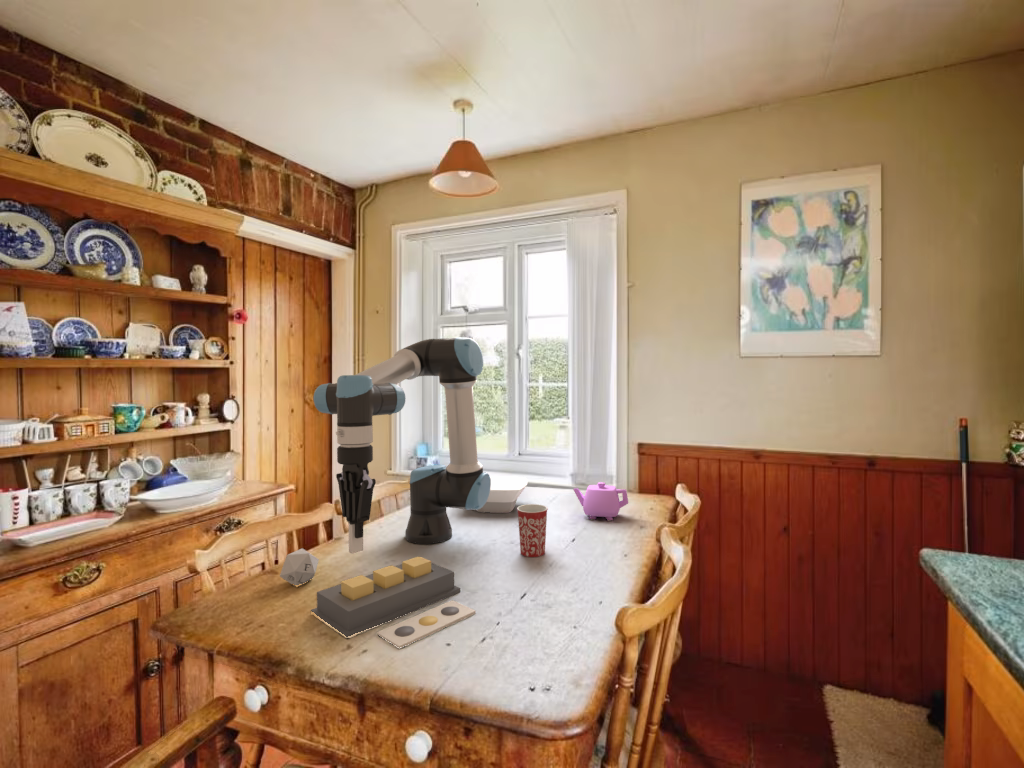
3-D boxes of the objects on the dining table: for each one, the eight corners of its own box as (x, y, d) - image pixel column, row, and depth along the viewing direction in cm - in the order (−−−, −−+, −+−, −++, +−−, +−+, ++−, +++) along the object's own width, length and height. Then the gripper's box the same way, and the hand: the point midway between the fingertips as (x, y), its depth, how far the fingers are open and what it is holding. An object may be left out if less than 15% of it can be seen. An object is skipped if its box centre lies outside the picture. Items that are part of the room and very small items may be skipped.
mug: (539, 560, 145) (539, 513, 144) (512, 555, 149) (511, 509, 149) (558, 547, 155) (557, 503, 155) (531, 542, 160) (531, 500, 160)
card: (376, 635, 104) (376, 631, 104) (452, 602, 118) (452, 599, 118) (399, 649, 98) (399, 645, 98) (475, 613, 113) (475, 610, 113)
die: (275, 594, 126) (293, 564, 124) (273, 566, 133) (291, 538, 130) (308, 596, 131) (326, 569, 129) (304, 569, 138) (322, 543, 136)
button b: (373, 588, 119) (373, 571, 118) (391, 581, 122) (391, 565, 122) (385, 594, 115) (385, 576, 115) (403, 587, 119) (403, 570, 119)
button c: (402, 577, 124) (402, 561, 124) (419, 572, 128) (418, 556, 128) (414, 583, 121) (414, 566, 121) (431, 577, 125) (431, 561, 124)
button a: (341, 599, 113) (341, 581, 113) (361, 592, 116) (361, 574, 116) (353, 606, 109) (352, 587, 109) (373, 598, 113) (373, 580, 113)
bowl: (471, 500, 216) (471, 476, 216) (530, 501, 212) (530, 477, 212) (457, 515, 192) (457, 488, 192) (523, 517, 188) (523, 490, 188)
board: (310, 614, 113) (310, 592, 113) (420, 574, 135) (420, 556, 135) (346, 639, 102) (346, 614, 102) (460, 592, 124) (459, 571, 124)
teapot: (629, 513, 192) (628, 480, 192) (627, 523, 180) (627, 487, 180) (576, 510, 197) (575, 478, 197) (571, 519, 185) (571, 484, 185)
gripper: (324, 444, 114) (325, 548, 114) (354, 449, 105) (355, 563, 105) (355, 440, 119) (356, 541, 120) (386, 445, 110) (387, 553, 111)
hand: (356, 551), depth 112 cm, fingers closed
